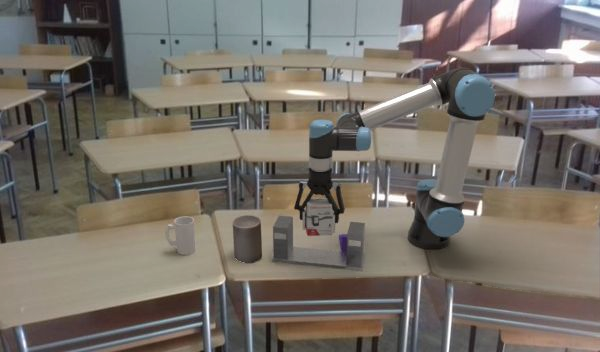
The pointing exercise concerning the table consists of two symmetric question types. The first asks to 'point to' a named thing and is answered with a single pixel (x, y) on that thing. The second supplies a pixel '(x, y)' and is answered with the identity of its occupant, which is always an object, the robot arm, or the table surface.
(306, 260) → the rail
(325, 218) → the ink box
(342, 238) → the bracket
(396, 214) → the table surface
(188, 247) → the mug
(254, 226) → the pillar candle
